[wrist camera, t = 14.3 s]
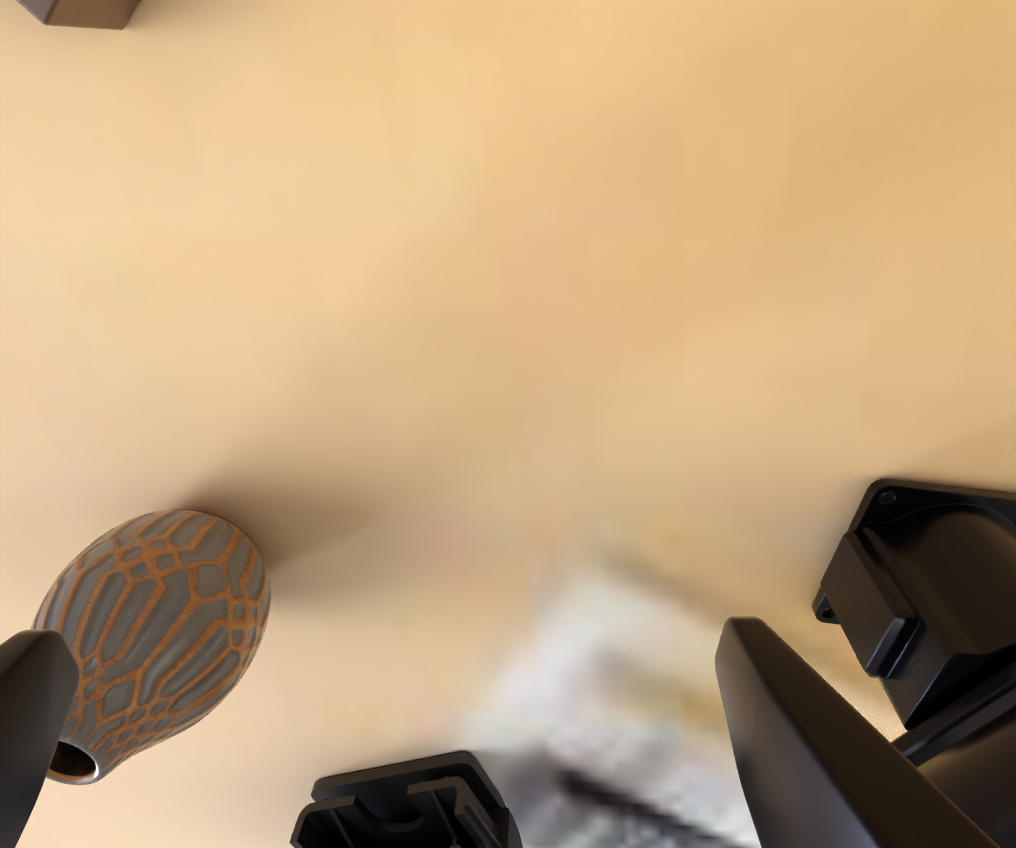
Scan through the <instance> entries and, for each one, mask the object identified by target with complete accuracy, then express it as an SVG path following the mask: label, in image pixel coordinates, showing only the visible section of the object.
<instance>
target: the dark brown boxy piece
mask: <svg viewBox="0 0 1016 848" xmlns="http://www.w3.org/2000/svg"><path fill="white" fill-rule="evenodd" d="M17 1H18V2H19V3H20V4H21V5H22V6H24V7H25V8H26V9H27V10H28V11H29V12H30V13H31V14H33V15H34V16H35V17H36V18H37V19H38V20H39V21H40V22H42V23H43V24H45V25H51V26H67V27H83V28H99V29H115V30H123V29H124V28H125V26H126V24H127V22H128V21H129V19H130V17H131V15H132V14H133V12H134V10H135V8H136V6H137V5H138V3H139V1H140V0H17Z"/></svg>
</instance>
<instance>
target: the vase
mask: <svg viewBox="0 0 1016 848" xmlns="http://www.w3.org/2000/svg"><path fill="white" fill-rule="evenodd" d="M269 608H270V581H269V575H268V572H267V569H266V566H265V564H264V561H263V559H262V557H261V555H260V553H259V551H258V550H257V549H256V547H255V546H254V544H253V543H252V542H251V541H250V539H249V538H248V537H247V536H246V535H245V534H244V533H243V532H242V531H241V530H239V529H238V528H237V527H235V526H234V525H232V524H231V523H229V522H227V521H226V520H224V519H221V518H219V517H216V516H214V515H210V514H207V513H202V512H196V511H189V510H168V511H159V512H153V513H149V514H145V515H142V516H140V517H137V518H134V519H131V520H129V521H127V522H125V523H123V524H121V525H119V526H117V527H115V528H113V529H111V530H110V531H108V532H107V533H105V534H104V535H102V536H101V537H99V538H98V539H96V540H95V541H94V542H92V543H91V544H90V545H89V546H88V547H87V548H85V549H84V550H83V551H82V552H81V553H80V554H79V555H78V556H77V557H76V558H75V559H74V560H73V561H72V562H71V563H70V564H69V565H68V566H67V567H66V568H65V569H64V570H63V572H62V573H61V574H60V575H59V576H58V578H57V579H56V580H55V582H54V583H53V585H52V586H51V588H50V589H49V591H48V592H47V594H46V596H45V598H44V600H43V601H42V603H41V605H40V607H39V609H38V612H37V614H36V616H35V619H34V621H33V624H32V626H31V629H30V630H47V629H51V630H56V631H57V632H59V633H60V634H61V635H62V637H63V639H64V640H65V642H66V644H67V646H68V648H69V649H70V651H71V653H72V655H73V657H74V658H75V660H76V662H77V664H78V666H79V669H80V681H79V686H78V689H77V692H76V694H75V697H74V700H73V703H72V706H71V708H70V711H69V714H68V717H67V719H66V722H65V725H64V728H63V730H62V733H61V736H60V739H59V742H58V744H57V747H56V750H55V753H54V755H53V758H52V761H51V764H50V766H49V769H48V772H47V775H46V778H49V779H51V780H54V781H57V782H60V783H65V784H71V785H86V784H92V783H95V782H97V781H99V780H100V779H102V778H103V777H105V776H106V775H107V774H108V773H110V772H111V771H112V770H113V769H115V768H116V767H117V766H118V765H120V764H121V763H122V762H124V761H125V760H127V759H128V758H130V757H131V756H133V755H135V754H137V753H139V752H141V751H143V750H146V749H148V748H150V747H152V746H154V745H156V744H159V743H161V742H163V741H165V740H167V739H169V738H171V737H173V736H175V735H177V734H179V733H181V732H183V731H185V730H186V729H188V728H190V727H191V726H193V725H194V724H196V723H197V722H199V721H200V720H201V719H203V718H204V717H205V716H207V715H208V714H209V713H210V712H211V711H212V710H213V709H214V708H215V707H216V706H218V705H219V704H220V703H221V702H222V700H223V699H224V698H225V697H226V696H227V695H228V694H229V693H230V692H231V691H232V689H233V688H234V687H235V686H236V685H237V683H238V682H239V681H240V679H241V678H242V676H243V675H244V673H245V672H246V671H247V669H248V667H249V665H250V663H251V662H252V660H253V658H254V656H255V654H256V651H257V649H258V647H259V645H260V642H261V640H262V637H263V634H264V632H265V629H266V625H267V620H268V615H269Z"/></svg>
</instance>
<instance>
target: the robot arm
mask: <svg viewBox="0 0 1016 848" xmlns="http://www.w3.org/2000/svg"><path fill="white" fill-rule="evenodd" d="M888 491H890V492H889V493H888V494H887V495H885V496H881V494H882V493H884V492H888ZM812 609H813V612H814V614H815V616H816V618H817V619H818V620H819V621H821V622H824V623H832V624H840V625H841V627H842V629H843V630H844V632H845V634H846V636H847V638H848V640H849V642H850V644H851V646H852V648H853V650H854V652H855V654H856V656H857V658H858V660H859V662H860V664H861V666H862V668H863V669H864V671H865V672H866V673H867V674H868V676H869V677H875V678H879V680H880V682H881V684H882V686H883V688H884V690H885V691H886V693H887V695H888V697H889V699H890V701H891V703H892V705H893V707H894V709H895V711H896V712H897V714H898V716H899V718H900V720H901V722H902V724H903V726H904V727H905V729H906V730H908V731H907V732H905V733H904V734H902V735H901V736H899V737H898V738H896V739H895V740H893V741H892V742H889V741H888V740H887V739H886V738H885V737H884V736H883V735H882V734H881V733H880V732H879V731H878V730H877V729H876V728H875V727H873V726H872V725H871V724H870V723H869V722H868V721H867V720H866V719H865V718H864V717H863V716H862V715H861V714H860V713H859V712H858V711H857V710H856V709H855V708H854V707H853V706H851V705H850V704H849V703H848V702H847V701H846V700H845V699H844V698H843V697H842V696H841V695H840V694H839V693H838V692H837V691H836V690H835V689H834V688H833V687H832V686H831V685H829V684H828V683H827V682H826V681H825V680H824V679H823V678H822V677H821V676H820V675H819V674H818V673H817V672H816V671H815V670H814V669H813V668H812V667H811V666H810V665H809V664H808V663H806V662H805V661H804V660H803V659H802V658H801V657H800V656H799V655H798V654H797V653H796V652H795V651H794V650H793V649H792V648H791V647H790V646H789V645H788V644H787V643H786V642H784V641H783V640H782V639H781V638H780V637H779V636H778V635H777V634H776V633H775V632H774V631H773V630H772V629H771V628H770V627H769V626H768V625H767V624H766V623H765V622H763V621H762V620H761V619H759V618H757V617H753V616H743V617H730V618H728V619H727V620H726V622H725V624H724V627H723V631H722V634H721V638H720V641H719V644H718V648H717V651H716V655H715V668H716V674H717V678H718V683H719V688H720V692H721V697H722V701H723V706H724V710H725V715H726V720H727V724H728V729H729V733H730V738H731V742H732V747H733V752H734V756H735V761H736V765H737V769H738V773H739V778H740V782H741V785H742V788H743V792H744V795H745V798H746V802H747V805H748V808H749V811H750V814H751V817H752V820H753V823H754V826H755V829H756V832H757V835H758V838H759V841H760V844H761V847H762V848H1016V494H1011V493H1003V492H995V491H987V490H978V489H970V488H962V487H953V486H945V485H937V484H929V483H920V482H912V481H904V480H895V479H880V480H877V481H875V482H873V483H872V484H871V485H870V486H869V487H868V489H867V491H866V493H865V495H864V497H863V499H862V501H861V504H860V506H859V508H858V510H857V512H856V514H855V516H854V518H853V520H852V522H851V524H850V527H849V529H848V531H847V532H846V533H845V534H844V535H843V537H842V539H841V541H840V543H839V545H838V547H837V550H836V552H835V554H834V556H833V558H832V560H831V562H830V564H829V566H828V568H827V571H826V573H825V575H824V577H823V579H822V581H821V587H820V589H819V591H818V593H817V596H816V598H815V600H814V602H813V604H812ZM826 609H828V610H826ZM79 681H80V669H79V666H78V664H77V662H76V660H75V658H74V657H73V655H72V653H71V651H70V649H69V648H68V646H67V644H66V642H65V640H64V639H63V637H62V635H61V634H60V633H59V632H57V631H56V630H51V629H47V630H25V631H21V632H19V633H17V634H16V635H14V636H12V637H11V638H10V639H8V640H7V641H5V642H4V643H2V644H1V645H0V848H15V846H16V844H17V842H18V840H19V838H20V836H21V834H22V832H23V830H24V827H25V825H26V823H27V821H28V819H29V817H30V814H31V812H32V810H33V808H34V805H35V803H36V801H37V798H38V796H39V793H40V791H41V788H42V786H43V783H44V780H45V778H46V775H47V772H48V769H49V766H50V764H51V761H52V758H53V755H54V753H55V750H56V747H57V744H58V742H59V739H60V736H61V733H62V730H63V728H64V725H65V722H66V719H67V717H68V714H69V711H70V708H71V706H72V703H73V700H74V697H75V694H76V692H77V689H78V686H79Z"/></svg>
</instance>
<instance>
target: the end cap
mask: <svg viewBox="0 0 1016 848" xmlns="http://www.w3.org/2000/svg"><path fill="white" fill-rule="evenodd" d="M311 796H312V798H313V799H314V800H315V802H314V803H311V804H309V805H307V806H306V807H305V808H304V809H303V810H302V811H301V813H300V814H299V817H298V819H297V822H296V825H295V828H294V831H293V833H292V836H291V840H290V844H291V845H292V846H293V847H294V848H523V846H522V842H521V838H520V834H519V831H518V828H517V825H516V823H515V821H514V818H513V816H512V814H511V812H510V811H509V809H508V808H506V806H505V804H504V802H503V800H502V797H501V795H500V793H499V792H498V791H497V789H496V788H495V786H494V785H493V783H492V782H491V780H490V779H489V777H488V776H487V774H486V773H485V771H484V770H483V768H482V767H481V765H480V764H479V762H478V761H477V760H476V758H475V757H474V756H473V755H472V754H470V753H467V752H458V753H453V754H447V755H442V756H437V757H432V758H427V759H422V760H416V761H411V762H406V763H401V764H396V765H391V766H386V767H380V768H375V769H370V770H365V771H360V772H355V773H350V774H344V775H339V776H334V777H329V778H324V779H320V780H317V781H316V782H315V784H314V787H313V790H312V793H311Z"/></svg>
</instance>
